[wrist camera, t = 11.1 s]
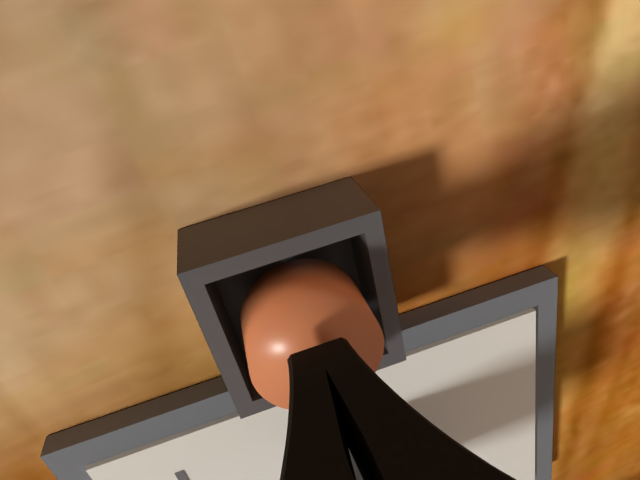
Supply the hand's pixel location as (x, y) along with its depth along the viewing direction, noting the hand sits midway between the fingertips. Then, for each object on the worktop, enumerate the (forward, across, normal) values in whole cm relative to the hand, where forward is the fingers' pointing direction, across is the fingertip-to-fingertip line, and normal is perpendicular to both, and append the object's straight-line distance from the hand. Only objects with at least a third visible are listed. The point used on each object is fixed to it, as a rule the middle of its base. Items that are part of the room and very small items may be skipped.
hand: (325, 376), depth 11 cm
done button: (+3, 0, 0) cm, 3 cm away
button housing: (+5, 0, 0) cm, 5 cm away
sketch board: (+5, 0, +9) cm, 10 cm away
